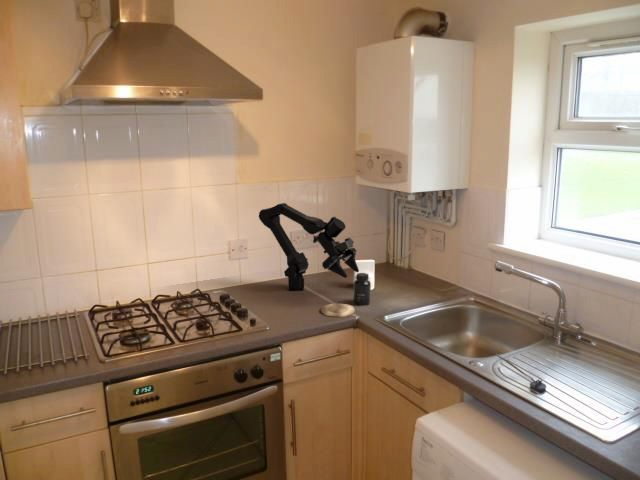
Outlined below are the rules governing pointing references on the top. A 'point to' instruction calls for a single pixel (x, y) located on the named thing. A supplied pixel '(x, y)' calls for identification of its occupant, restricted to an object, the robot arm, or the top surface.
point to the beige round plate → (337, 310)
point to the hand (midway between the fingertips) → (352, 274)
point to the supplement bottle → (362, 289)
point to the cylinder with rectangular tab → (366, 270)
